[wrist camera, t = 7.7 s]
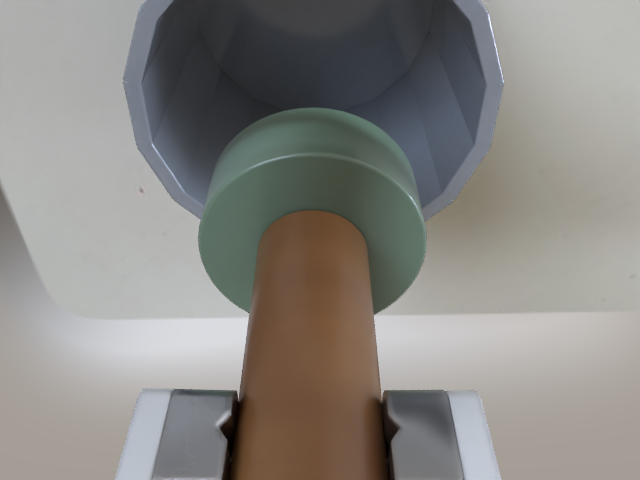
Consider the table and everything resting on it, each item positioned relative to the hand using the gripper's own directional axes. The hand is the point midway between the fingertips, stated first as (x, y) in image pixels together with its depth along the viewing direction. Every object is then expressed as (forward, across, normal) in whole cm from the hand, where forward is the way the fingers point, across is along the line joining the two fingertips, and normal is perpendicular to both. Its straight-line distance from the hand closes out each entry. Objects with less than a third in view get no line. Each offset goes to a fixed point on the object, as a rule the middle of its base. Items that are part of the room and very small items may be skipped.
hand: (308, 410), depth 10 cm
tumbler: (+20, 0, 0) cm, 20 cm away
